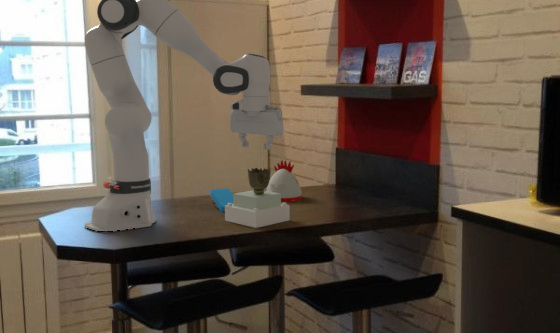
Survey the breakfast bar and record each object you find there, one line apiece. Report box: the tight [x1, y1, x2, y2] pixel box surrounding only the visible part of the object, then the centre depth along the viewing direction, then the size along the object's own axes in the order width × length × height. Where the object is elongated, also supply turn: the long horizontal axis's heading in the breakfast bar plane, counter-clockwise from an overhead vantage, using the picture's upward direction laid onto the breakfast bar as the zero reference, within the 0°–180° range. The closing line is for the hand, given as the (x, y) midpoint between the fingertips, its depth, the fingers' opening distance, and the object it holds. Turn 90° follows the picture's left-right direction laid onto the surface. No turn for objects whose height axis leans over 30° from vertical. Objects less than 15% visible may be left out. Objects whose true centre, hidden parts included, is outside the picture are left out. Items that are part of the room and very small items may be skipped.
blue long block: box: [209, 188, 234, 213], centre depth 233 cm, size 7×7×18 cm
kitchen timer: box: [266, 160, 303, 203], centre depth 247 cm, size 14×14×15 cm
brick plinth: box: [224, 189, 291, 229], centre depth 209 cm, size 15×15×9 cm
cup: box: [247, 167, 272, 194], centre depth 208 cm, size 8×7×8 cm
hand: (256, 148), depth 207 cm, fingers open, 8 cm apart
